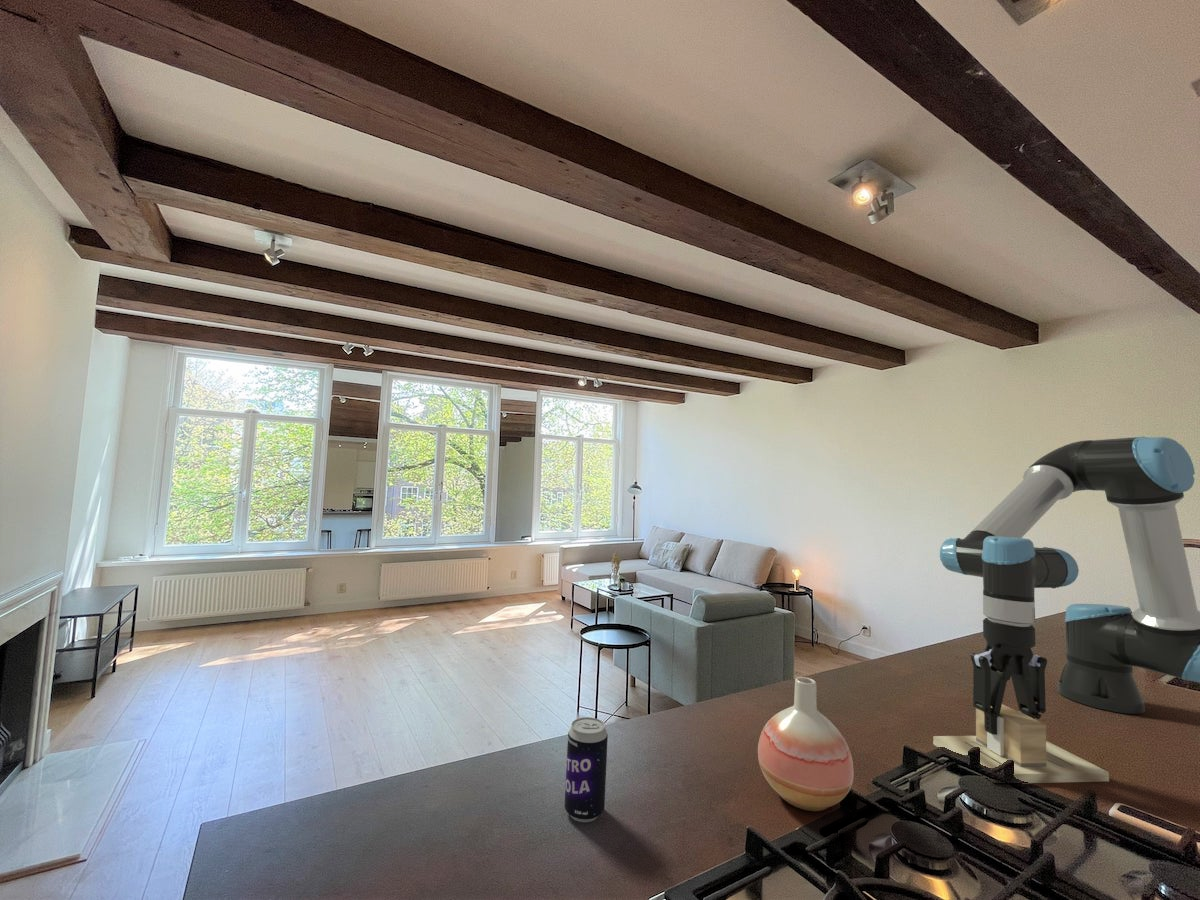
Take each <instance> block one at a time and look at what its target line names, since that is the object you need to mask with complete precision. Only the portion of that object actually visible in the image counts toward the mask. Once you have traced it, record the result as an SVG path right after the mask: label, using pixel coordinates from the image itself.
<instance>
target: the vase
mask: <svg viewBox="0 0 1200 900" xmlns="http://www.w3.org/2000/svg"><path fill="white" fill-rule="evenodd" d="M793 693H794V697H793V705H792V706H790V707H786V708H785V709H782V710H780V711H779V712H776V713H775V714H774V715H773V716H772V717H771V718H770V719H769V720H767V722H766V724H765V725H764V726H763V728H762V730H761V733H760V736H759V738H758V739H759V740H758V743H757V757H758V758H757V759H758V764H759V768H760V770H761V772H762V774H763V777H764V778H765V780H766V781H767V782H768V785H770V787H771V788H772V789H773V790H774V791H775V792H776V793H777V794H778V795H779V796H780V797H781V798H782V799H783V801H784V802H787V803H788V804H789V805H791V806H793V807H795V808H797V809H800V810H804V811H808V812H822V811H824V810H827V809H828V808H830V807H833V806H835V805H838V804H839V803H840V802H841V801H842V800H844V799H845V798H846V797H847V795H848V794H849V792H850V790H851V788H852V785H853V783H854V775H855V772H854V761H853V757H852V753H851V750H850V748H849V746H848V743H847V742H846V739H845V738H844V736H843V734H842V733H841V732H840V731H839V729H838V728H837V727H836V725H834V724H833V723H832V721H830V720H829V719H828V718H827V717H826V716H825V715H824V714H822V713H821V712H820V711H819V710H818V708H817V706H818V705H817V682H816V681H815V680H814V679H812V678H810V677H805V676H798V677H796V678H795V680H794V692H793Z"/></svg>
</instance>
